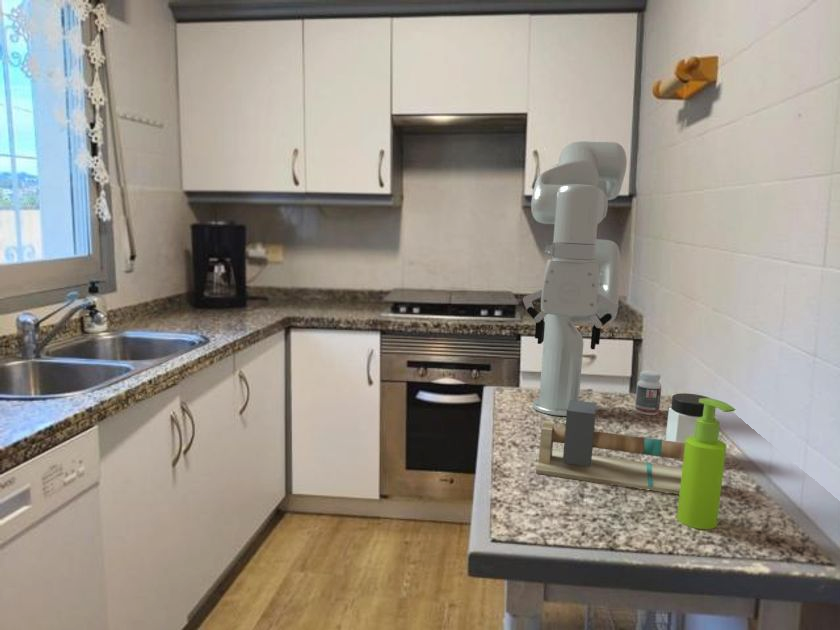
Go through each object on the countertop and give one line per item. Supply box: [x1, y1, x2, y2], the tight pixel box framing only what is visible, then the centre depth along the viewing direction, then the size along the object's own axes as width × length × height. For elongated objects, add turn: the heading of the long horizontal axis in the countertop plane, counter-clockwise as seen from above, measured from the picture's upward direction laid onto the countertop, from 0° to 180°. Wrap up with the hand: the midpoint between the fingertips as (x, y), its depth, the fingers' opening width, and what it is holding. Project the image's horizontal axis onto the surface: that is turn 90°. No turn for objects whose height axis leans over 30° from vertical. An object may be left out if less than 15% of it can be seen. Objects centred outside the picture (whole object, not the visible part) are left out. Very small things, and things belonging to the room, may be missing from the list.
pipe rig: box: [535, 420, 685, 495], centre depth 123 cm, size 12×30×8 cm, turn 73°
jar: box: [665, 392, 717, 462], centre depth 135 cm, size 9×8×12 cm
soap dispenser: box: [676, 397, 736, 530], centre depth 104 cm, size 6×7×20 cm
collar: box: [563, 400, 597, 467], centre depth 125 cm, size 8×5×10 cm, turn 163°
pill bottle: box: [634, 370, 662, 416], centre depth 164 cm, size 6×6×10 cm
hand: (566, 345), depth 124 cm, fingers open, 9 cm apart
